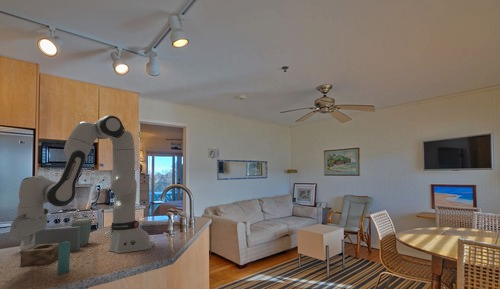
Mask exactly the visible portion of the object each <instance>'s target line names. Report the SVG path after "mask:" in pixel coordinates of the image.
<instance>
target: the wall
mask: <svg viewBox="0 0 500 289" xmlns="http://www.w3.org/2000/svg"><path fill="white" fill-rule="evenodd" d="M80 228H81V226H78V227H72V226H66V227H65V226H63V227H47V228H46V227H45V229H44V230H41V231H39V232H36V233H35V245H36V244H50V243H60V242H65V241H70V252H75V251H76V252H77V251H79V250H80V249H81V246H80Z"/></svg>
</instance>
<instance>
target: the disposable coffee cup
mask: <svg viewBox="0 0 500 289" xmlns="http://www.w3.org/2000/svg"><path fill="white" fill-rule="evenodd" d="M92 224H93V218H91V217H90V216H89V217H88V216H79V217H73V218H72V219H71V221H70V225H71V226H70V227H78V226H81V228H80V247H83V246H85V245H88V244H89V240H90V236H91V235H90V234H91V230H92Z"/></svg>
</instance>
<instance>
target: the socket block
mask: <svg viewBox="0 0 500 289" xmlns="http://www.w3.org/2000/svg"><path fill="white" fill-rule="evenodd" d="M58 248H59V243H50V244H36V245H34V246H32V247H30V248H28V249H26V250H24V251H20V263H19V264H20V267H21V266H31V265H32V266H33V265H43V264H44V265H46V264H51V263H53V262H54V261H56V260H58Z"/></svg>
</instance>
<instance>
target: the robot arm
mask: <svg viewBox="0 0 500 289" xmlns="http://www.w3.org/2000/svg"><path fill="white" fill-rule="evenodd" d="M97 139H99V140H106V139H109V140H110V141H111V143H112V144H111V145H112V170H111V185H110V188H111V191H112V193H113V194H114V198H113V199H114V200H113V206H112V221H111V227H110V230H111V237H110V244H109V247H108V251H109V252H113V253H116V254H122V253H131V252H138V251H146V250H149V249H152V248H153V247H154V245H155V242H154V241H153V240H150V235H149V233H148V232H147V231H145V230H144V229H142V228H141V227H140V220H136V201H137V187H138V182H137V180H136V178H135V168H136V167H135V166H136V158H135V157H136V155H135V154H136V153H135V142H134V137H133V134H132V133H131V131H128V130H126V128H125V126H124V125H123V122H122V120H121V119H120V118H118V117H117V116H116V115H105V116H103V117H101V118H99V119H98V120H97V121H95V122H93V123H91V121H90V122H89V121H80V122H78V123H77V124H76V125H75V126H74V128H73V129H72V131H71V132H70V134H69V136H68V138H67V140H66V142H65V144H64V147H63V153H64V156H65V158H66V163H65V164H66V165H65V167H64V169H63V171H62V174H61V177H60V179H59V180H58V181H54V180H51V179H49V178H46V177H45V176H43V175H33V176H27V177H24V179H22V180H21V182H20V184H19V186H20V187H19V189H18V198H19V199H18V200H19V201H18V205H17V212H16V217H15V218H14V219H13V221H12V223H11V224H10V229H9V234H8V238H9V240H14V241H15V240H20V239H21V240H22V239H23V242H24V246H28V245H30V244H32V240H33V238H34V236H35V233H36V232H39V231H41V230H44V229H45V228H46V227H47V222H48V214H49V209H48V208H46V207H45V206H44V205H45V203H49V204H51V205H52V206H55V207H65V206H68V205H69V204H71V203H72V202H73V200H74V199H75V198H76V197H75V196H76V184H77V181H78V179H79V177H80V174H81V172H82V169H83V166H84V163H85V162H86V159H87V158H88V155H89V154H90V152H91V150H92V148H93V145H94V143H95V142H96V140H97Z"/></svg>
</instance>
